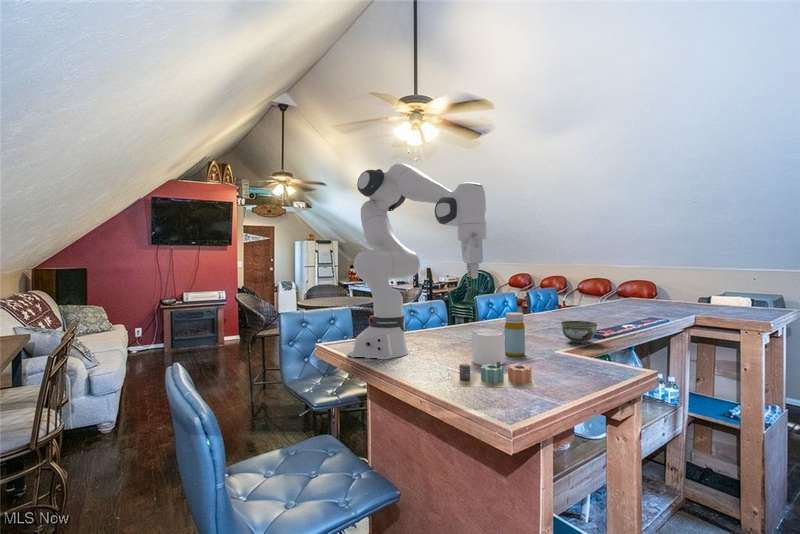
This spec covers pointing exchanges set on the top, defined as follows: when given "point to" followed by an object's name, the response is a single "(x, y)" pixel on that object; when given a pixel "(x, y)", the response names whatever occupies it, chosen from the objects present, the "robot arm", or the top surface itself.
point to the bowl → (579, 330)
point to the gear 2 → (519, 374)
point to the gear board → (474, 380)
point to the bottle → (514, 334)
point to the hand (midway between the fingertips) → (472, 277)
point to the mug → (488, 347)
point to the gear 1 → (492, 373)
